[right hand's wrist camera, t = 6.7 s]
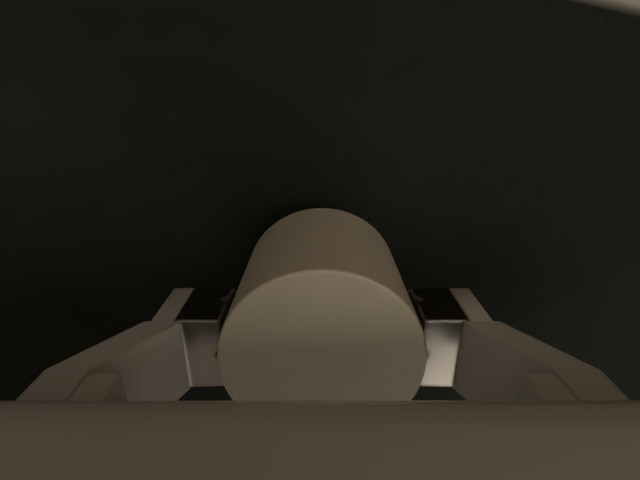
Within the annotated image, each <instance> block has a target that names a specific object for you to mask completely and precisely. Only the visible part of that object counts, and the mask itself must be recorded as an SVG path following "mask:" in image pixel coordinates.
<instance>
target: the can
mask: <svg viewBox="0 0 640 480" xmlns="http://www.w3.org/2000/svg"><path fill="white" fill-rule="evenodd" d="M217 361H218V368H219V372H220V376H221V379H222V382H223V384H224V386H225V389H226V390H227V392H228V394H229V395H230V397H231V398H232V400H233V401H411V400H412V398H413V397H414V395H415V394H416V392H417V390H418V388H419V386H420V384H421V382H422V379H423V376H424V373H425V368H426V362H427V346H426V339H425V335H424V332H423V329H422V326H421V324H420V321H419V319H418V317H417V314H416V312H415V309H414V307H413V305H412V302H411V300H410V297H409V295H408V293H407V290H406V288H405V286H404V283H403V281H402V278H401V276H400V274H399V271H398V269H397V266H396V264H395V262H394V259H393V257H392V254H391V252H390V250H389V248H388V246H387V244H386V242H385V241H384V239H383V238H382V236H381V235H380V234H379V233H378V232H377V231H376V230H375V228H373V227H372V226H371V225H370V224H368V223H367V222H366V221H364V220H362V219H361V218H359V217H357V216H355V215H353V214H350V213H348V212H344V211H341V210H336V209H330V208H315V209H307V210H303V211H299V212H296V213H293V214H290V215H288V216H286V217H284V218H282V219H280V220H279V221H278V222H276V223H275V224H273V225H272V226H271V227H270V228H269V229H268V230H267V231H266V232H265V233H264V234H263V235H262V237H261V238H260V239H259V241H258V243H257V244H256V246H255V248H254V250H253V253H252V255H251V258H250V260H249V263H248V265H247V268H246V270H245V272H244V275H243V277H242V280H241V282H240V285H239V287H238V290H237V292H236V295H235V297H234V300H233V302H232V305H231V307H230V309H229V312H228V314H227V317H226V319H225V322H224V324H223V327H222V329H221V332H220V336H219V340H218V347H217Z"/></svg>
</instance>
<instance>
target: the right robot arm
mask: <svg viewBox="0 0 640 480" xmlns="http://www.w3.org/2000/svg"><path fill="white" fill-rule="evenodd" d="M407 293H408V295H409V297H410V300H411V302H412V305H413V307H414V309H415V312H416V314H417V317H418V319H419V321H420V324H421V326H422V329H423V332H424V335H425V339H426V346H427V362H426V368H425V373H424V376H423V379H422V382H421V384H420V386H441V387H453V389H454V390H456V391H457V392H458V393H459V394H460V395H461V396H462V397H463V398H465V399H466V400H467V401H177V400H178V399H179V398H180V397H182V396H183V395H184V394H185V393H186V392H187V391H188V390H189V389H190V387H202V386H224V384H223V382H222V379H221V376H220V372H219V368H218V361H217V347H218V340H219V336H220V332H221V329H222V327H223V324H224V322H225V319H226V317H227V314H228V312H229V309H230V307H231V305H232V302H233V300H234V297H235V295H236V292H235V290H234V289H214V288H176V289H174V290H173V291H172V292H171V294H170V295H169V297H168V298H167V299H166V301H165V302H164V304H163V305H162V306H161V308H160V309H159V310H158V312H157V313H156V315H155V316H154V317H153V319H152V320H151V321H144V322H142V323H140V324H138V325H136V326H134V327H132V328H130V329H128V330H126V331H123V332H121V333H119V334H117V335H115V336H113V337H111V338H109V339H107V340H105V341H103V342H101V343H99V344H97V345H95V346H93V347H91V348H89V349H86V350H84V351H82V352H80V353H78V354H76V355H74V356H72V357H70V358H68V359H66V360H64V361H62V362H60V363H58V364H56V365H54V366H52V367H50V368H47V369H45V370H44V371H43V372H42V373H41V374H40V375H39V376H38V377H37V378H36V379H35V380H34V382H33V383H32V384H31V385H30V386H29V387H28V388H27V389H26V390H25V391H24V392H23V393H22V394H21V395H20V396H19V397H18V398H17V399H16V400H15V401H0V480H640V401H630V400H629V399H628V398H627V397H626V396H625V395H624V394H623V393H622V392H621V391H620V389H619V388H618V387H617V386H616V385H615V384H614V383H613V382H612V381H611V380H610V379H609V378H608V377H607V376H606V375H605V374H604V373H603V372H602V371H601V370H599V369H597V368H595V367H593V366H591V365H589V364H587V363H585V362H583V361H580V360H578V359H576V358H574V357H572V356H570V355H568V354H566V353H564V352H562V351H560V350H558V349H556V348H554V347H552V346H549V345H547V344H545V343H543V342H541V341H539V340H537V339H535V338H533V337H531V336H529V335H527V334H525V333H523V332H521V331H518V330H516V329H514V328H512V327H510V326H508V325H506V324H504V323H502V322H500V321H493V320H492V319H491V318H490V316H489V315H488V314H487V312H486V311H485V310H484V308H483V307H482V306H481V304H480V303H479V302H478V300H477V299H476V298H475V296H474V295H473V294H472V292H471V291H470V290H469V289H468V288H432V289H409V290H408V292H407Z"/></svg>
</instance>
